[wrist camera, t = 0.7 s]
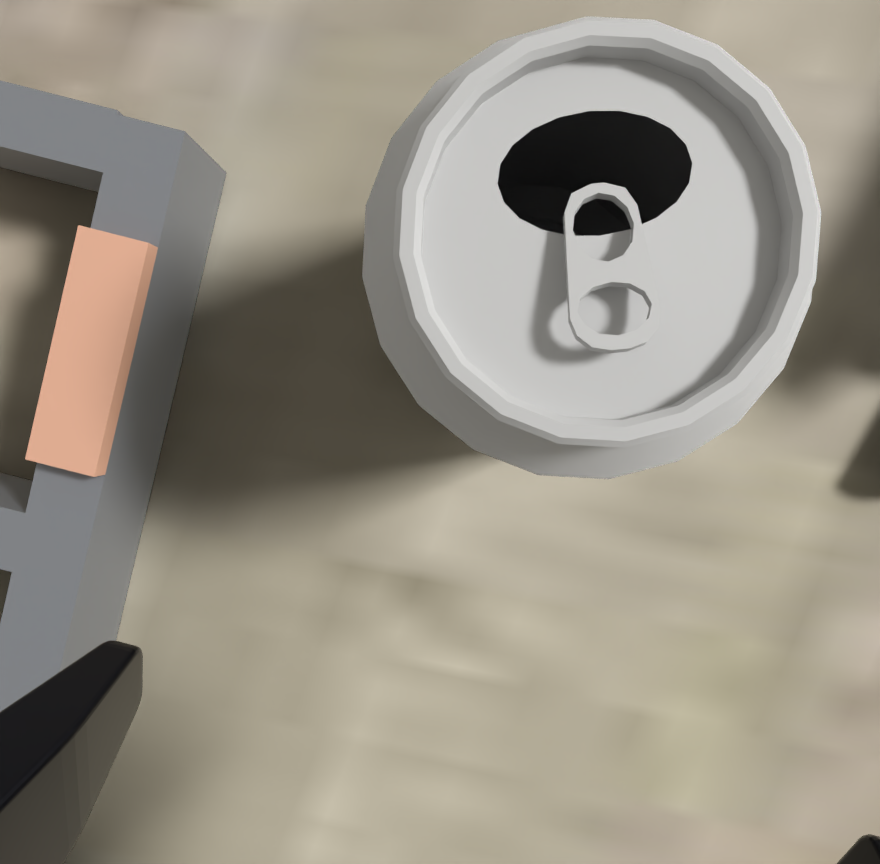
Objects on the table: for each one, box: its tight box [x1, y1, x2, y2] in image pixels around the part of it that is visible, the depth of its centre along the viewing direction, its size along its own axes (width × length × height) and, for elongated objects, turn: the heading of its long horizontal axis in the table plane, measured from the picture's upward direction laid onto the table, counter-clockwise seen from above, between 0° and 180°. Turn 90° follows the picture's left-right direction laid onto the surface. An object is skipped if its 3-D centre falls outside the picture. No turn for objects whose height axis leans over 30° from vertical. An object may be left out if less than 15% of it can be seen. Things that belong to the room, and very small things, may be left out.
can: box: [362, 16, 821, 479], centre depth 17 cm, size 8×8×12 cm
